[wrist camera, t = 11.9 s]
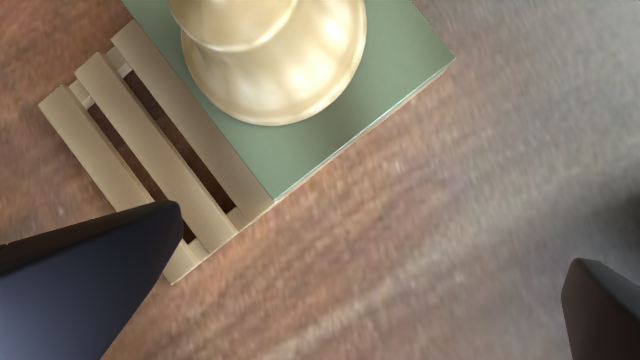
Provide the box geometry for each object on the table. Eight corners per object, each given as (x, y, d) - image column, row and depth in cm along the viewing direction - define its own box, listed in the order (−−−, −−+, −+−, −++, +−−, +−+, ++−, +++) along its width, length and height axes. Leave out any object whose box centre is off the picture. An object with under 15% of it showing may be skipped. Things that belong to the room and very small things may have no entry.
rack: (178, 281, 22) (143, 303, 19) (53, 113, 23) (-4, 104, 19) (441, 75, 20) (456, 57, 17) (297, -107, 21) (282, -161, 17)
